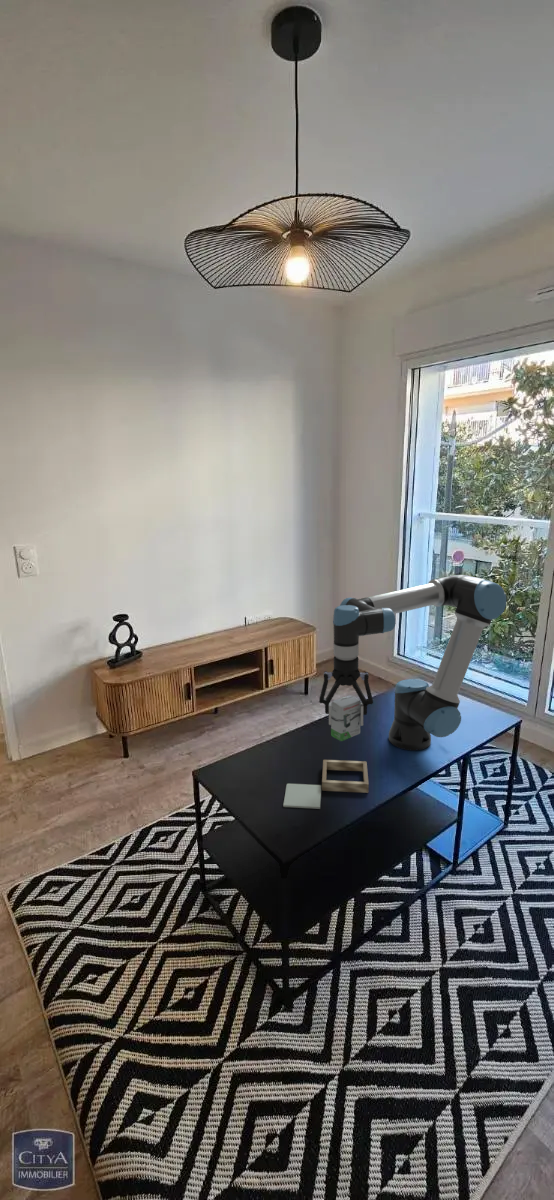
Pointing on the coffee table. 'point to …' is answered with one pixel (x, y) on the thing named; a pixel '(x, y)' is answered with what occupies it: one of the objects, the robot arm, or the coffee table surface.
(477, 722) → the coffee table surface
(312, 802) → the tile
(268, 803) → the coffee table surface
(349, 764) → the pocket
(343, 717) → the ink box
